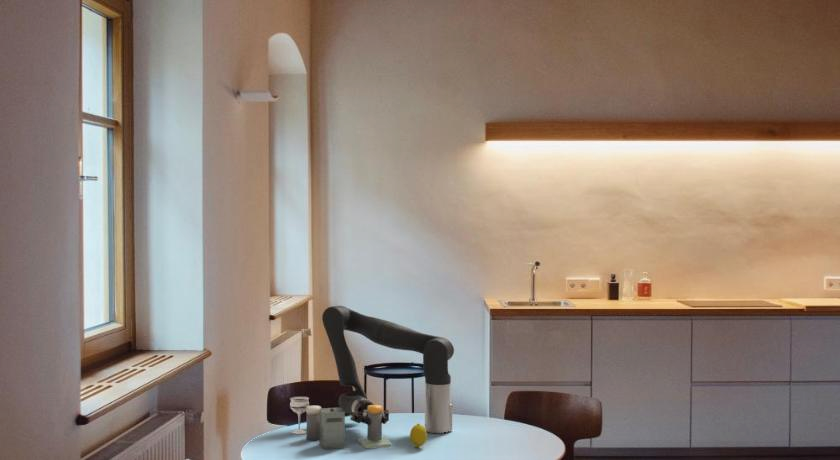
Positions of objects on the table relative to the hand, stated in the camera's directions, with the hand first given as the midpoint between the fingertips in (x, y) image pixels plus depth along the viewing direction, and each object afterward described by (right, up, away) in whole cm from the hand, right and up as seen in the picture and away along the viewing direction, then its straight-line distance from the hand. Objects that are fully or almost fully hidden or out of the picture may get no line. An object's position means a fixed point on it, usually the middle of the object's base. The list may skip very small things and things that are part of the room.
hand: (377, 421), depth 261 cm
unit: (-15, -8, -1) cm, 17 cm away
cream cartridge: (-22, -8, +8) cm, 25 cm away
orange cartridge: (-1, -7, +3) cm, 7 cm away
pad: (-1, -8, +2) cm, 9 cm away
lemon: (+14, -9, -2) cm, 16 cm away
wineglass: (-29, -8, +17) cm, 34 cm away
